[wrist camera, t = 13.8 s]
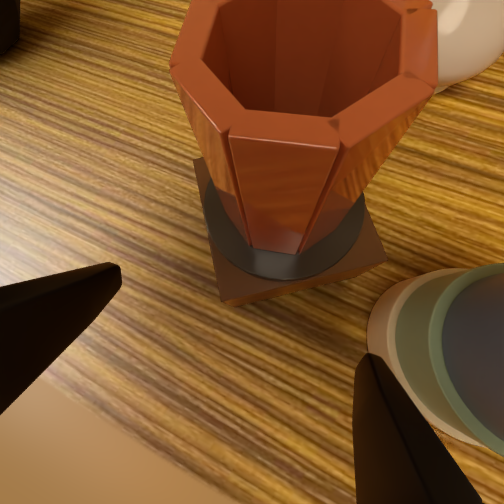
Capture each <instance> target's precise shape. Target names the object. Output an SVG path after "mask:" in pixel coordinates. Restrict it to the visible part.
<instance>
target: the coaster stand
mask: <svg viewBox="0 0 504 504" xmlns="http://www.w3.org/2000/svg"><path fill="white" fill-rule="evenodd" d="M193 163H194V168H195V173H196V178H197V183H198V188H199V193H200V198H201V203H202V208H203V213H204V218H205V223H206V228H207V233H208V238H209V243H210V248H211V253H212V258H213V263H214V268H215V273H216V278H217V284H218V289H219V294H220V299H221V302H223V303H225V304H228V305H230V306H233V307H238V306H242V305H246V304H250V303H254V302H258V301H262V300H266V299H270V298H274V297H278V296H282V295H286V294H290V293H294V292H298V291H302V290H306V289H310V288H314V287H318V286H322V285H326V284H330V283H334V282H338V281H342V280H346V279H350V278H354V277H357V276H359V275H361V274H363V273H365V272H366V271H368V270H370V269H372V268H374V267H376V266H378V265H380V264H382V263H384V262H386V261H388V258H387V255H386V253H385V251H384V248H383V246H382V243H381V241H380V239H379V236H378V234H377V231H376V229H375V226H374V224H373V222H372V219H371V217H370V214H369V212H368V210H367V207H366V205H365V199H364V193H363V192H362V193H361V195H360V196H359V197H358V199H357V200H356V201H355V203H354V204H353V206H352V207H351V208H350V210H349V211H348V212H347V214H346V215H345V217H344V218H343V219H342V221H341V222H340V224H339V225H338V226H337V228H336V229H335V230H334V231H333V232H331V233H330V234H329V235H327V236H326V237H324V238H323V239H321V240H320V241H318V242H317V243H316V244H314V245H313V246H311V247H310V248H308V249H307V250H306V251H304V252H303V253H301V254H299V253H298V252H297V254H296V255H293V254H286V253H280V252H274V251H268V250H262V249H255V248H253V247H252V245H251V246H249V245H248V244H247V242H246V241H245V240H244V238H243V237H242V235H241V234H240V233H239V231H238V230H237V229H236V227H235V226H234V224H233V223H232V222H231V220H230V219H229V217H228V216H227V215H226V212H225V210H224V207H223V205H222V202H221V200H220V197H219V195H218V192H217V190H216V187H215V185H214V182H213V180H212V177H211V175H210V172H209V170H208V167H207V165H206V162H205V160H204V157H202V158H198V159H194V160H193Z"/></svg>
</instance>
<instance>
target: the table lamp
mask: <svg viewBox="0 0 504 504" xmlns="http://www.w3.org/2000/svg"><path fill="white" fill-rule="evenodd" d="M19 35H20V0H0V54H3V53H4V52H5V51H6V50H7V49H8V48H9V47H10V46H11V45H13V44H14V43H15V42H16V41H17V40H18V39H19Z"/></svg>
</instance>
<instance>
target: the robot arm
mask: <svg viewBox="0 0 504 504" xmlns="http://www.w3.org/2000/svg"><path fill="white" fill-rule="evenodd" d="M121 285H122V277H121V269H120V266H119V265H117V264H114V263H111V262H106V263H101V264H97V265H93V266H88V267H84V268H80V269H75V270H71V271H67V272H62V273H58V274H54V275H49V276H45V277H41V278H36V279H32V280H28V281H23V282H19V283H15V284H10V285H6V286H2V287H0V415H1V414H2V413H3V412H4V411H5V410H6V409H7V408H8V407H9V406H10V405H11V404H12V403H13V402H14V401H15V400H16V399H17V398H18V397H19V396H20V395H21V394H22V393H23V392H24V391H25V390H26V389H27V388H28V387H29V386H30V385H31V384H32V382H34V381H35V379H37V378H38V377H39V376H40V375H41V374H42V373H43V372H44V371H45V370H46V369H47V368H48V367H49V366H50V365H51V363H52V362H53V361H54V360H55V359H56V358H57V357H58V356H59V355H60V354H61V353H62V352H63V351H64V350H65V349H66V348H67V347H68V346H69V345H70V344H71V343H72V342H73V341H74V340H75V339H76V338H77V337H78V336H79V335H80V334H81V333H82V332H83V331H84V330H85V329H86V328H87V327H88V326H89V325H90V324H91V323H92V322H93V321H94V320H95V318H96V317H97V316H98V315H99V314H100V312H101V311H102V310H103V309H104V308H105V306H106V305H107V304H108V303H109V301H110V300H111V299H112V298H113V297H114V295H115V294H116V293H117V292H118V291H119V289H120V288H121ZM352 429H353V448H354V466H355V483H356V500H357V504H484V503H482V499H481V497H480V496H479V494H478V493H477V492H476V490H475V489H474V487H473V486H472V485H471V483H470V482H469V480H468V479H467V477H466V476H465V475H464V473H463V472H462V470H461V469H460V467H459V466H458V465H457V463H456V462H455V460H454V459H453V458H452V456H451V455H450V453H449V452H448V450H447V449H446V448H445V446H444V445H443V443H442V442H441V441H440V439H439V438H438V436H437V435H436V433H435V432H434V431H433V429H432V428H431V426H430V425H429V424H428V422H427V421H426V419H425V418H424V416H423V415H422V414H421V412H420V411H419V409H418V408H417V406H416V405H415V404H414V402H413V401H412V399H411V398H410V397H409V395H408V394H407V392H406V391H405V389H404V388H403V387H402V385H401V384H400V382H399V381H398V380H397V378H396V377H395V375H394V374H393V372H392V371H391V370H390V368H389V367H388V365H387V364H386V363H385V361H384V360H383V358H382V357H380V356H378V355H375V354H372V353H366V354H365V355H364V357H363V358H362V360H361V361H360V363H359V364H358V366H357V368H356V370H355V377H354V397H353V417H352Z"/></svg>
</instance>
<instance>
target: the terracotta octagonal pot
mask: <svg viewBox="0 0 504 504" xmlns="http://www.w3.org/2000/svg"><path fill="white" fill-rule="evenodd" d="M432 6H433V2H431V1H430V0H191V3H190V6H189V8H188V11H187V14H186V17H185V19H184V22H183V25H182V28H181V30H180V33H179V36H178V39H177V41H176V44H175V47H174V50H173V52H172V55H171V58H170V60H169V66H170V69H169V72H170V75H171V77H172V80H173V82H174V85H175V87H176V90H177V92H178V95H179V97H180V100H181V102H182V105H183V107H184V110H185V112H186V115H187V117H188V120H189V122H190V125H191V127H192V130H193V132H194V135H195V137H196V140H197V142H198V145H199V147H200V150H201V152H202V155H203V157H204V160H205V162H206V165H207V167H208V170H209V172H210V175H211V177H212V180H213V182H214V185H215V187H216V190H217V192H218V195H219V197H220V200H221V202H222V205H223V207H224V210H225V212H226V215H227V216H228V217H229V219H230V220H231V222H232V223H233V224H234V226H235V227H236V229H237V230H238V231H239V233H240V234H241V235H242V237H243V238H244V240H245V241H246V242H247V244H248V245H249V246H251V245H252V247H253V248H255V249H262V250H268V251H274V252H280V253H286V254H293V255H296V254H297V252H298V253H299V254H301V253H303V252H304V251H306V250H307V249H308V248H310V247H311V246H313V245H314V244H316V243H317V242H318V241H320V240H321V239H323V238H324V237H326V236H327V235H329V234H330V233H331V232H333V231H334V230H335V229H336V228H337V226H338V225H339V224H340V222H341V221H342V219H343V218H344V217H345V215H346V214H347V212H348V211H349V210H350V208H351V207H352V206H353V204H354V203H355V201H356V200H357V199H358V197H359V196H360V195H361V193H362V192H363V190H364V189H365V188H366V186H367V185H368V184H369V182H370V181H371V179H372V178H373V177H374V175H375V174H376V172H377V171H378V170H379V168H380V167H381V166H382V164H383V163H384V161H385V160H386V159H387V157H388V156H389V155H390V153H391V152H392V150H393V149H394V148H395V146H396V145H397V143H398V142H399V141H400V139H401V138H402V137H403V135H404V134H405V132H406V131H407V130H408V128H409V127H410V126H411V124H412V123H413V121H414V120H415V119H416V117H417V116H418V114H419V113H420V112H421V110H422V109H423V108H424V106H425V105H426V103H427V102H428V101H429V99H430V98H431V97H432V95H433V94H434V92H435V88H436V87H437V85H438V16H437V10H436V9H431V8H432Z"/></svg>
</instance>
